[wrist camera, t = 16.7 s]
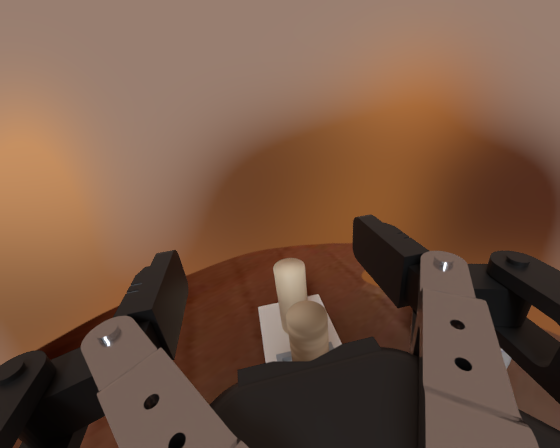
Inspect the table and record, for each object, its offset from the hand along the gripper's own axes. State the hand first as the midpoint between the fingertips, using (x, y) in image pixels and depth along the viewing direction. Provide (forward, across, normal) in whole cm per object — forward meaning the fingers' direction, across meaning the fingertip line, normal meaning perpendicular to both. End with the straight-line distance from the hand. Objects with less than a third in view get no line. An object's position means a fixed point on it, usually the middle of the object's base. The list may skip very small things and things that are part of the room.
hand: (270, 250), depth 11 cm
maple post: (+11, -4, +29) cm, 31 cm away
